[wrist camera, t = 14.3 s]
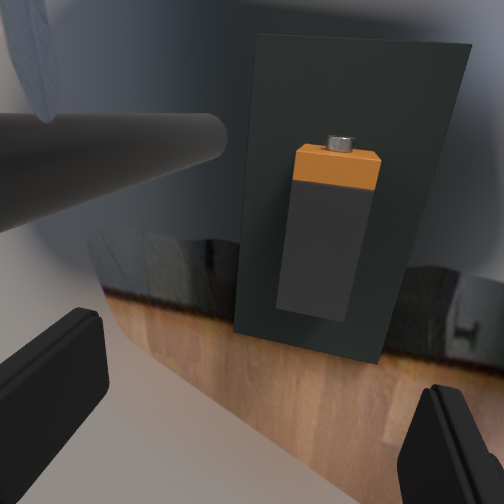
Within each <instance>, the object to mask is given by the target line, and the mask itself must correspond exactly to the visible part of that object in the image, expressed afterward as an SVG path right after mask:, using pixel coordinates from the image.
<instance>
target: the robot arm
mask: <svg viewBox="0 0 504 504" xmlns="http://www.w3.org/2000/svg"><path fill="white" fill-rule="evenodd" d="M108 388H109V375H108V366H107V357H106V348H105V339H104V330H103V321H102V318H101V317H99V315H98V313H97V312H96V311H93V310H89V309H84V308H79V307H78V308H75V309H73V310H72V311H71V312H69V313H68V314H66V315H65V316H64V317H62V318H61V319H60V320H59V321H57V322H56V323H55V324H53V325H52V326H50V327H49V328H48V329H46V330H45V331H44V332H42V333H41V334H40V335H38V336H37V337H36V338H34V339H33V340H32V341H30V342H29V343H28V344H26V345H25V346H24V347H22V348H21V349H20V350H18V351H17V352H16V353H14V354H13V355H12V356H10V357H9V358H8V359H6V360H5V361H4V362H2V363H1V364H0V504H16V503H17V502H18V501H19V500H20V499H21V498H22V497H23V495H24V494H25V493H26V492H27V490H28V489H29V488H30V487H31V486H32V484H33V483H34V482H35V481H36V479H37V478H38V477H39V476H40V474H41V473H42V472H43V471H44V470H45V468H46V467H47V466H48V465H49V464H50V462H51V461H52V460H53V459H54V457H55V456H56V455H57V454H58V452H59V451H60V450H61V449H62V448H63V446H64V445H65V444H66V443H67V441H68V440H69V439H70V438H71V437H72V435H73V434H74V433H75V432H76V430H77V429H78V428H79V427H80V426H81V424H82V423H83V422H84V421H85V419H86V418H87V417H88V416H89V414H90V413H91V412H92V411H93V410H94V408H95V407H96V406H97V405H98V403H99V402H100V401H101V400H102V399H103V397H104V396H105V395H106V393H107V391H108ZM397 472H398V478H399V484H400V490H401V496H402V501H403V504H504V469H503V467H502V465H501V464H500V462H499V460H498V459H497V458H496V457H495V456H494V455H493V454H491V453H489V452H488V450H487V447H486V445H485V443H484V441H483V439H482V436H481V434H480V432H479V430H478V428H477V425H476V423H475V421H474V419H473V417H472V414H471V412H470V410H469V408H468V405H467V403H466V401H465V399H464V397H463V394H462V393H461V391H460V390H459V389H455V388H451V387H446V386H442V385H437V384H434V385H432V387H431V389H428V388H425V389H424V390H423V392H422V395H421V397H420V400H419V403H418V405H417V408H416V411H415V413H414V416H413V419H412V421H411V424H410V427H409V429H408V432H407V435H406V437H405V440H404V443H403V445H402V448H401V451H400V453H399V456H398V460H397Z"/></svg>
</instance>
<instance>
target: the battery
mask: <svg viewBox="0 0 504 504" xmlns="http://www.w3.org/2000/svg"><path fill="white" fill-rule="evenodd" d="M354 143H355V138H354V137H348V136H340V135H327V138H326V144H325V146H320V145H311V144H304V145H303V146H302V147H300V148H299V149H298V150H297V151H296V156H295V164H294V171H293V180H292V186H291V194H290V201H289V209H288V217H287V224H286V232H285V240H284V247H283V255H282V262H281V270H280V278H279V285H278V293H277V301H276V309H281V310H285V311H290V312H295V313H300V314H305V315H309V316H314V317H319V318H324V319H329V320H333V321H338V322H343V323H344V321H345V316H346V312H347V308H348V303H349V299H350V295H351V290H352V286H353V282H354V277H355V273H356V269H357V264H358V260H359V256H360V251H361V247H362V243H363V238H364V234H365V230H366V225H367V221H368V217H369V212H370V208H371V204H372V199H373V195H374V190H375V186H376V182H377V178H378V173H379V169H380V165H381V160H380V158H379V157H378V156H377V155H376V153H375V152H374V151H366V150H356V149H353V148H354Z"/></svg>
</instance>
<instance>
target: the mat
mask: <svg viewBox="0 0 504 504" xmlns="http://www.w3.org/2000/svg"><path fill="white" fill-rule="evenodd" d="M471 48H472V44H459V43H439V42H419V41H399V40H378V39H358V38H338V37H318V36H297V35H277V34H256V37H255V50H254V64H253V77H252V90H251V104H250V118H249V131H248V143H247V144H248V145H247V157H246V171H245V183H244V198H243V211H242V224H241V237H240V250H239V263H238V276H237V290H236V303H235V316H234V330H233V332H236V333H240V334H244V335H249V336H253V337H258V338H262V339H266V340H271V341H275V342H280V343H284V344H288V345H293V346H297V347H302V348H306V349H310V350H315V351H319V352H324V353H328V354H332V355H337V356H341V357H345V358H350V359H354V360H359V361H363V362H367V363H372V364H376V365H377V364H378V361H379V358H380V355H381V351H382V348H383V344H384V341H385V338H386V334H387V331H388V328H389V324H390V321H391V317H392V314H393V311H394V307H395V304H396V301H397V297H398V294H399V290H400V287H401V284H402V280H403V277H404V274H405V270H406V267H407V263H408V260H409V257H410V253H411V250H412V246H413V243H414V240H415V236H416V233H417V229H418V226H419V223H420V219H421V216H422V213H423V209H424V206H425V203H426V199H427V196H428V192H429V189H430V186H431V182H432V179H433V176H434V172H435V169H436V166H437V162H438V159H439V155H440V152H441V149H442V145H443V142H444V139H445V135H446V132H447V128H448V125H449V122H450V118H451V115H452V111H453V108H454V105H455V102H456V98H457V95H458V91H459V88H460V85H461V81H462V78H463V75H464V71H465V68H466V64H467V61H468V57H469V54H470V51H471ZM327 135H340V136H348V137H354V138H355V143H354V148H353V149H356V150H366V151H374V152H375V153H376V155H377V156H378V157H379V158H380V160H381V165H380V169H379V173H378V178H377V182H376V186H375V190H374V195H373V199H372V204H371V208H370V212H369V217H368V221H367V225H366V230H365V234H364V238H363V243H362V247H361V251H360V256H359V260H358V264H357V269H356V273H355V277H354V282H353V286H352V290H351V295H350V299H349V303H348V308H347V312H346V316H345V321H344V323H343V322H338V321H333V320H329V319H324V318H319V317H314V316H309V315H305V314H300V313H295V312H290V311H285V310H281V309H276V301H277V293H278V285H279V278H280V270H281V262H282V255H283V247H284V240H285V232H286V224H287V217H288V209H289V201H290V194H291V186H292V180H293V171H294V164H295V156H296V151H297V150H298V149H299V148H300V147H302V146H303V145H304V144H311V145H320V146H325V144H326V138H327Z"/></svg>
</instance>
